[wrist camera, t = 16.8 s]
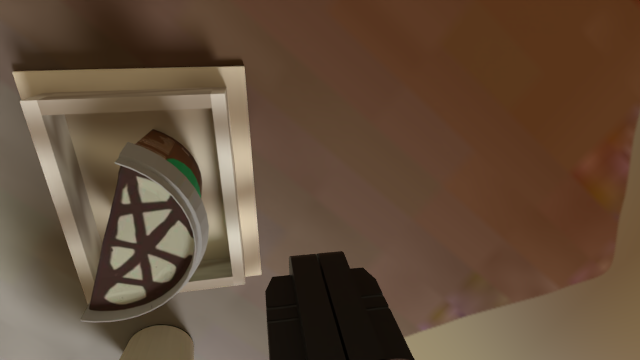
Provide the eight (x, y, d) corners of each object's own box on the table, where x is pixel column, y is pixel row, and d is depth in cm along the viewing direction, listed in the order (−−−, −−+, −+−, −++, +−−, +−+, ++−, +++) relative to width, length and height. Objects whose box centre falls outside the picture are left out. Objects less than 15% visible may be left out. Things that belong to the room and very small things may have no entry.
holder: (16, 71, 26) (-16, 77, 23) (244, 65, 29) (244, 71, 25) (88, 292, 34) (72, 320, 31) (261, 271, 37) (262, 295, 33)
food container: (195, 256, 34) (178, 340, 25) (124, 241, 32) (78, 327, 23) (234, 135, 30) (230, 184, 21) (156, 111, 28) (116, 153, 19)
